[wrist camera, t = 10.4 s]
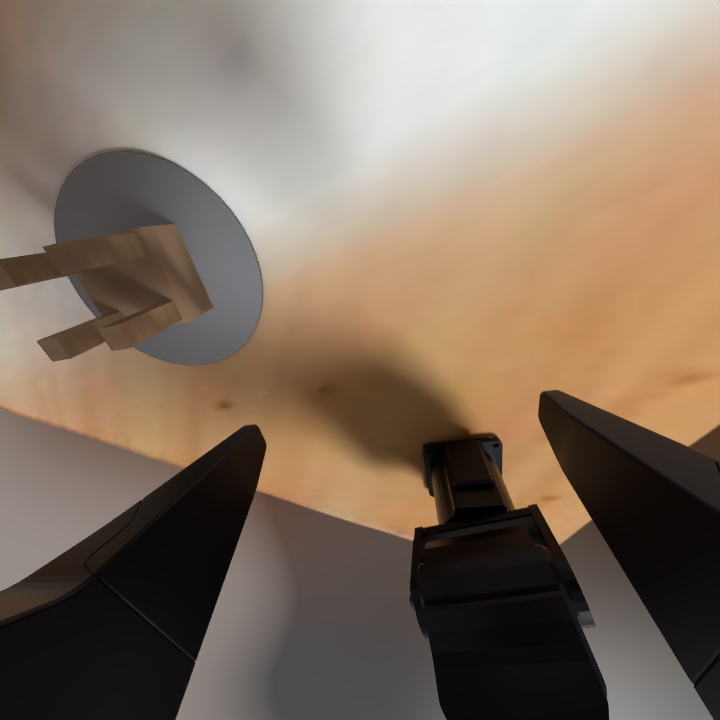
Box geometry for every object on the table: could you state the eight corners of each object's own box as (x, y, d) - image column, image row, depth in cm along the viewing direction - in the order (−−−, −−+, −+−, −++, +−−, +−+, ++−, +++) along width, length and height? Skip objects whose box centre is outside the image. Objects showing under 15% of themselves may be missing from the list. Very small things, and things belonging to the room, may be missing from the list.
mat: (290, 348, 22) (288, 351, 22) (136, 373, 24) (132, 376, 24) (208, 121, 16) (204, 119, 15) (13, 185, 18) (5, 185, 18)
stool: (213, 307, 21) (139, 350, 14) (148, 320, 21) (52, 366, 15) (175, 223, 18) (65, 233, 12) (103, 242, 19) (-33, 260, 13)
